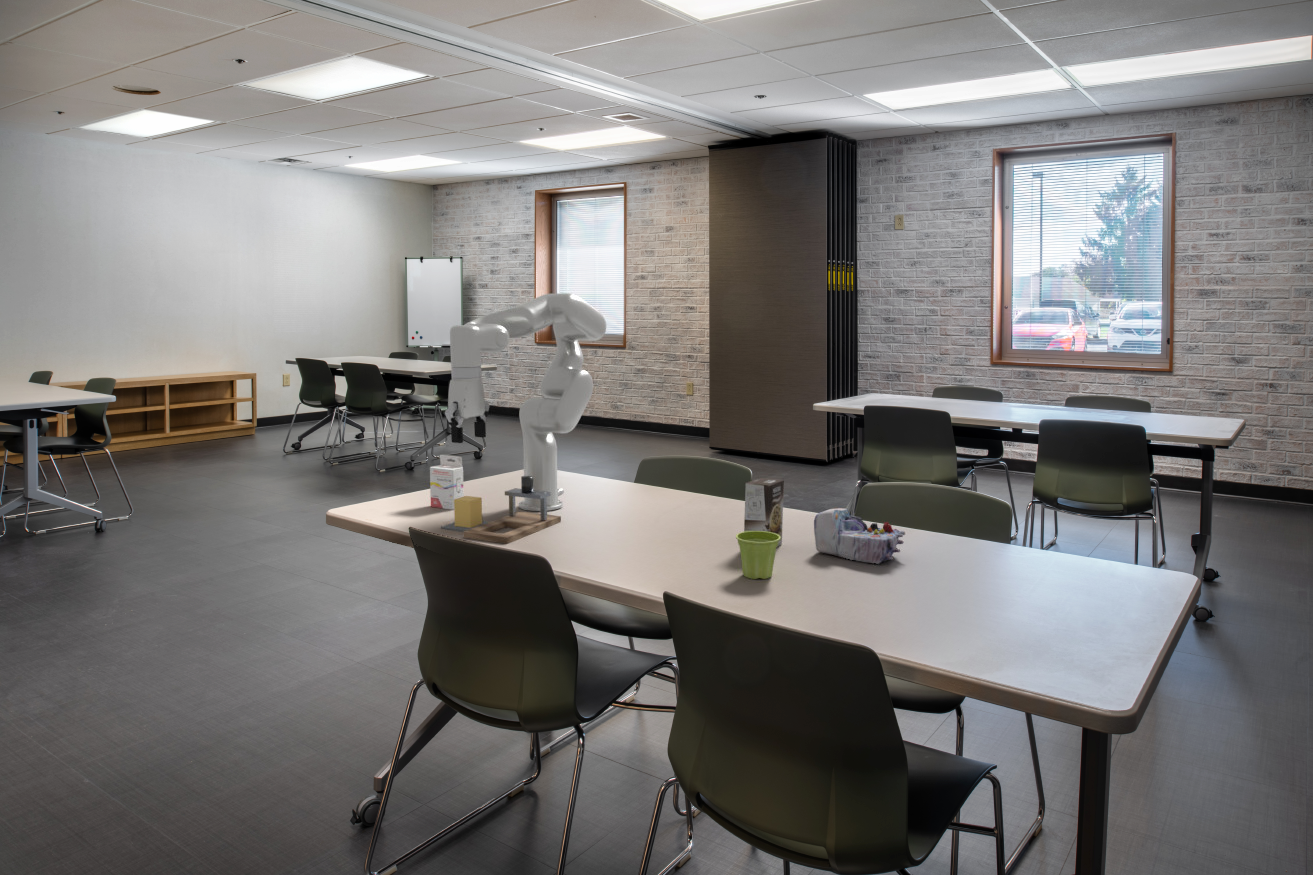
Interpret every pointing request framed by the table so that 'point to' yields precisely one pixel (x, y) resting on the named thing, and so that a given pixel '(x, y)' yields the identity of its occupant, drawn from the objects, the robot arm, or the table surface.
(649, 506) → the table surface
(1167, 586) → the table surface
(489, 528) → the puzzle board
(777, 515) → the coffee box
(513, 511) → the cover bar
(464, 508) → the ochre block
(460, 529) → the rubber mat
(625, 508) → the table surface
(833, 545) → the cell model
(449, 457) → the ink cartridge box
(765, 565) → the plant pot
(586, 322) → the robot arm
